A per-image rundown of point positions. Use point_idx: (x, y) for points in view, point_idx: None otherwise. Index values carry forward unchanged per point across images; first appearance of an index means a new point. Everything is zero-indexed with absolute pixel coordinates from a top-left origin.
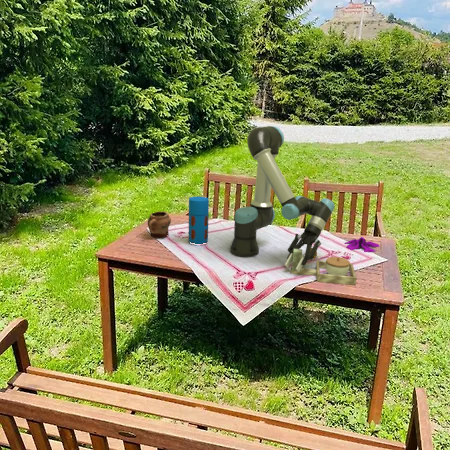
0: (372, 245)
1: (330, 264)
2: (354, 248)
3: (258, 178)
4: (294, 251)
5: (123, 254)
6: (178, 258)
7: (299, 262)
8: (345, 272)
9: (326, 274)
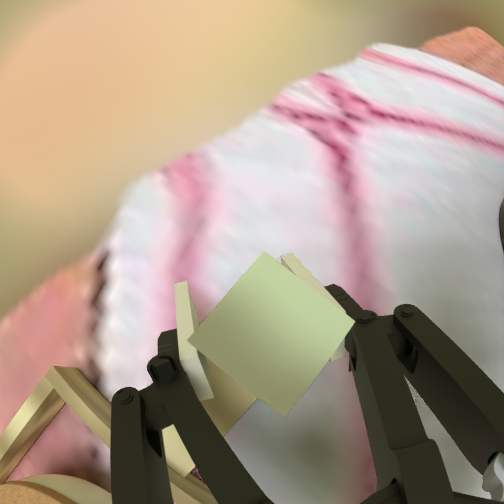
0: None
1: (28, 484)
2: None
3: None
4: (263, 266)
5: (478, 37)
6: (474, 70)
7: (190, 315)
8: None
9: (31, 413)
